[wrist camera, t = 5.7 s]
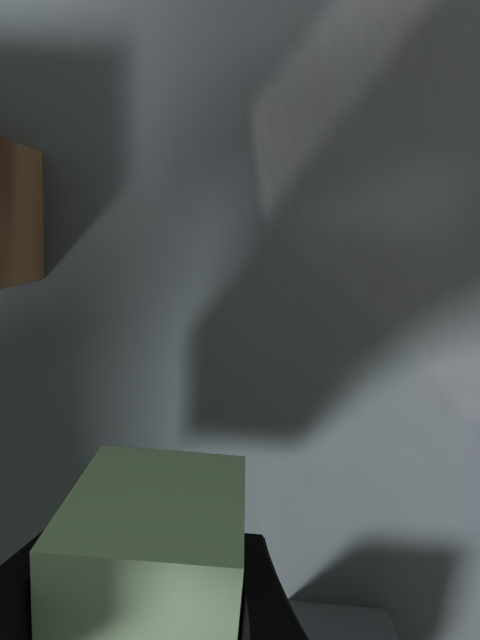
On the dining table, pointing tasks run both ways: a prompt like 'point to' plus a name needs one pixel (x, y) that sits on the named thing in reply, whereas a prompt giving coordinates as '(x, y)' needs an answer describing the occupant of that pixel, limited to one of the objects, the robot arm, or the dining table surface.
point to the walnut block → (21, 214)
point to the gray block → (344, 622)
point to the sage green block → (144, 550)
